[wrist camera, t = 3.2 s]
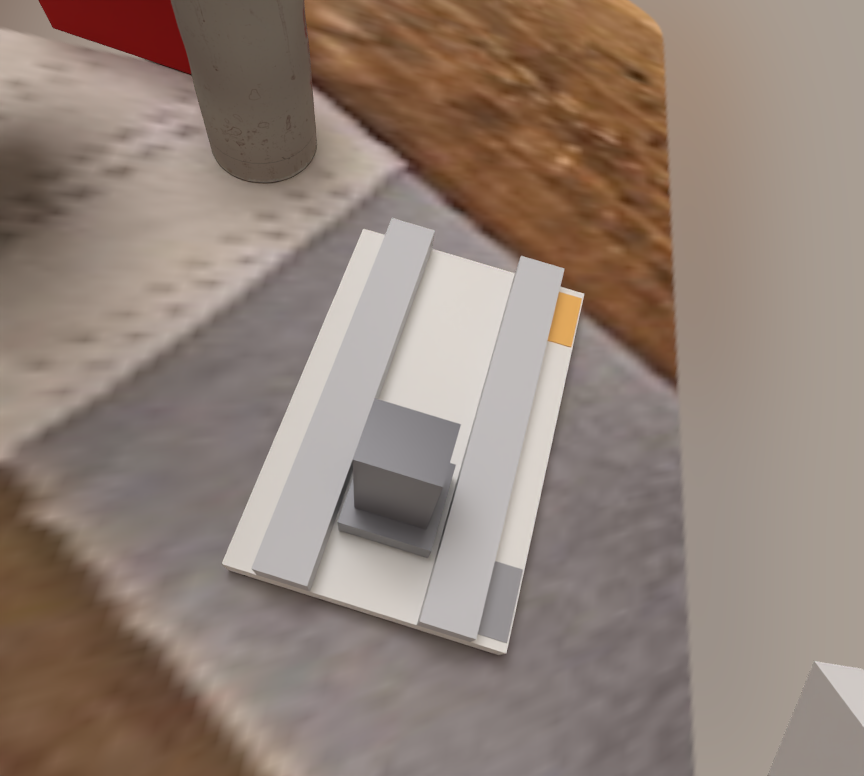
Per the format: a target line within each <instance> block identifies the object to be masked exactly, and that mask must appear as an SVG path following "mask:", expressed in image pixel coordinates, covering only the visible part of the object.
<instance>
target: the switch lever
mask: <svg viewBox="0 0 864 776" xmlns="http://www.w3.org/2000/svg"><path fill="white" fill-rule="evenodd" d="M460 426H461V424H458V423H455V422H452V421H448V420H445V419H442V418H439V417H435V416H432V415H429V414H425V413H422V412H419V411H415V410H412V409H409V408H406V407H402V406H399V405H396V404H392V403H389V402H386V401H383V400H379V399H376V398H374V401H373V404H372V407H371V410H370V412H369V415H368V418H367V421H366V424H365V426H364V429H363V432H362V435H361V437H360V440H359V443H358V446H357V449H356V451H355V454H354V457H353V479H352V482H351V485H350V488H349V491H348V493H347V496H346V499H345V502H344V505H343V507H342V510H341V513H340V516H339V519H338V522H337V523H338V530H339V531H342V532H345V533H348V534H352V535H355V536H358V537H361V538H364V539H368V540H371V541H374V542H377V543H381V544H384V545H387V546H390V547H393V548H397V549H400V550H403V551H406V552H410V553H413V554H416V555H419V556H422V557H426V558H428V557H429V555H430V553H431V551H432V548H433V544H434V541H435V537H436V534H437V530H438V526H439V523H440V519H441V516H442V512H443V509H444V505H445V502H446V498H447V495H448V491H449V488H450V484H451V481H452V477H453V473H454V470H455V466H456V464H452V463H450V461H451V457H452V454H453V450H454V447H455V444H456V440H457V437H458V433H459V430H460Z"/></svg>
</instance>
